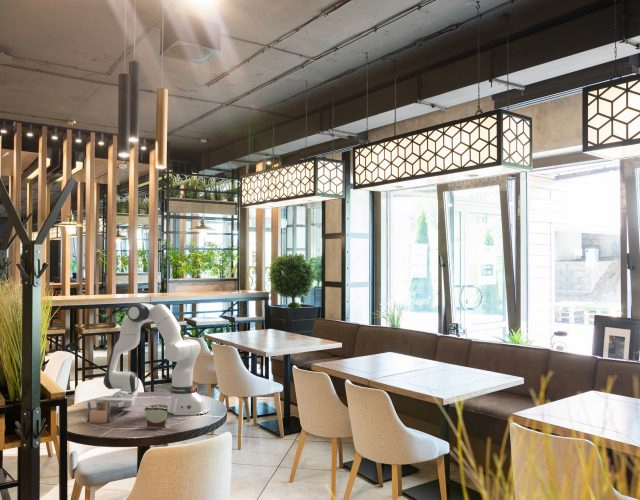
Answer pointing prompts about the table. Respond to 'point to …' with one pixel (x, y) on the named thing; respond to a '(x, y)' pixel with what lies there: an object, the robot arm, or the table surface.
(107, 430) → the table surface
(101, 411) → the bay
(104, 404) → the tan upright block
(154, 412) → the food container
